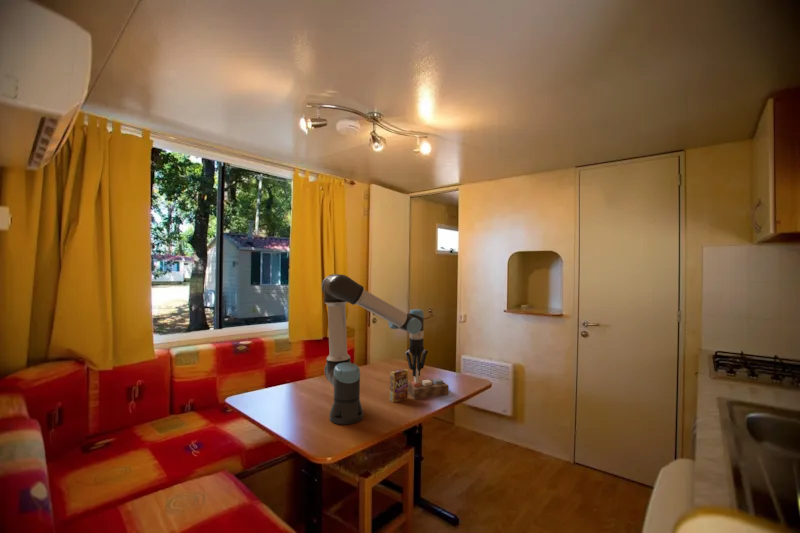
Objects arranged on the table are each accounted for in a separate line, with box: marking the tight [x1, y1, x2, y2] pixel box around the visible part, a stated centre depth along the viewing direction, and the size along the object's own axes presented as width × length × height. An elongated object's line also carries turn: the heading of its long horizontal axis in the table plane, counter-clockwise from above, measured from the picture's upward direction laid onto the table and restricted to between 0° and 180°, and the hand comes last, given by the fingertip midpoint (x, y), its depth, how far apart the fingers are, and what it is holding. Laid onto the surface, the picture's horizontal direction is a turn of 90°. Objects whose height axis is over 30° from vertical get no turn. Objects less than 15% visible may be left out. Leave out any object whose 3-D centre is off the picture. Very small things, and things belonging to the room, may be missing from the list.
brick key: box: [410, 380, 421, 387], centre depth 190 cm, size 4×4×4 cm
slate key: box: [433, 378, 444, 384], centre depth 195 cm, size 4×4×4 cm
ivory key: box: [421, 379, 432, 386], centre depth 192 cm, size 4×4×4 cm
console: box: [408, 378, 449, 400], centre depth 192 cm, size 20×12×5 cm, turn 111°
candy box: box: [388, 368, 409, 403], centre depth 182 cm, size 9×4×15 cm, turn 123°
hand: (416, 382), depth 190 cm, fingers closed
